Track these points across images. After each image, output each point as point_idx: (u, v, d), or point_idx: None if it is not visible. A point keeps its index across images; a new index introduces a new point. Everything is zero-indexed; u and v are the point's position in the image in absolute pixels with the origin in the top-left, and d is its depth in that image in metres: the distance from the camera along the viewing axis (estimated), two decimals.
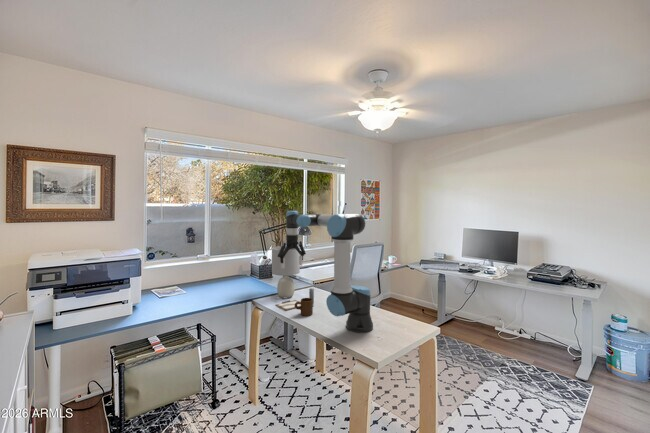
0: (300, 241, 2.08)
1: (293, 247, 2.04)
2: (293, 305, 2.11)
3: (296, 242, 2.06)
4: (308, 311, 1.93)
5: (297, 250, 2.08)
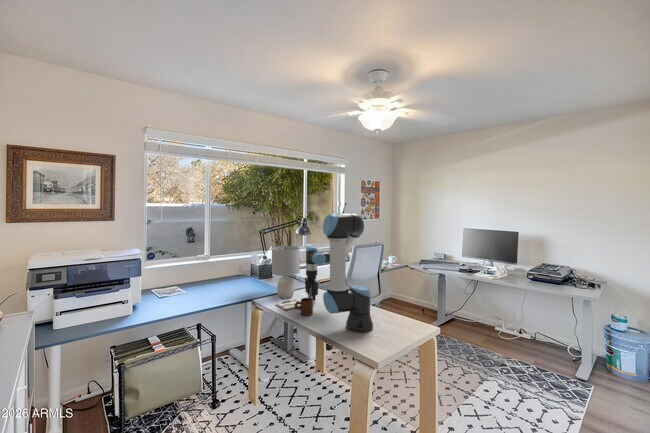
0: (315, 281, 2.05)
1: (310, 282, 2.09)
2: (293, 305, 2.11)
3: (313, 278, 2.07)
4: (308, 311, 1.93)
5: None
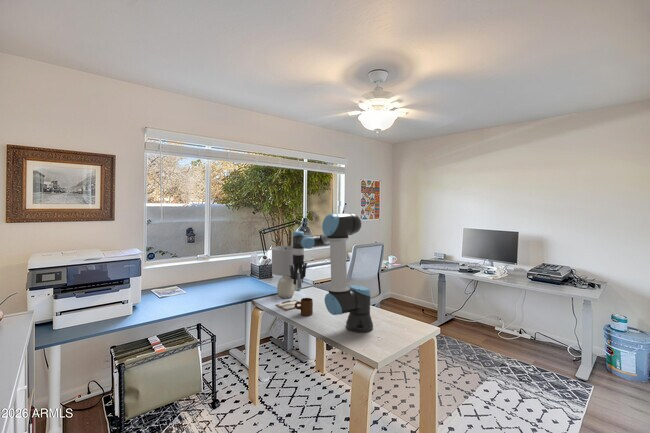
0: (306, 263, 2.14)
1: (299, 266, 2.11)
2: (293, 305, 2.11)
3: (302, 261, 2.12)
4: (308, 311, 1.93)
5: (299, 271, 2.13)
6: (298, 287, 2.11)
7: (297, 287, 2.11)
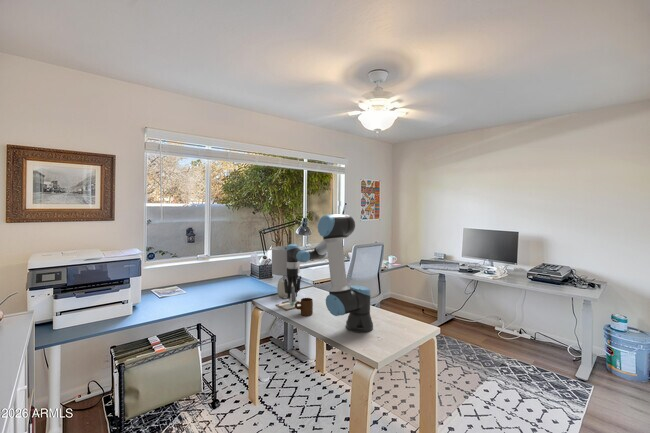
0: (300, 276, 2.11)
1: (293, 280, 2.08)
2: (293, 305, 2.11)
3: (297, 275, 2.10)
4: (308, 311, 1.93)
5: (294, 285, 2.10)
6: (292, 301, 2.08)
7: None
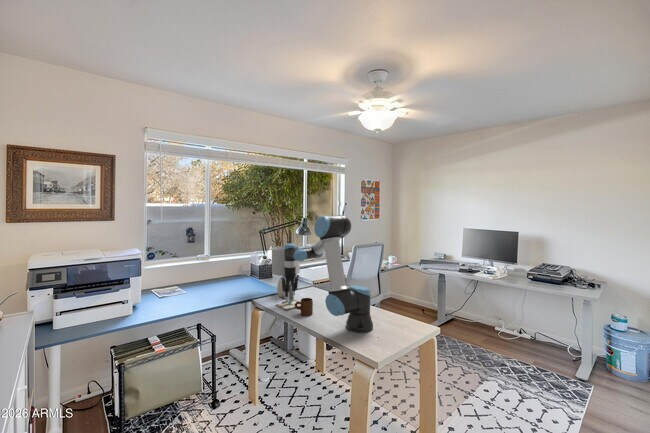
0: (298, 275, 2.15)
1: (291, 279, 2.12)
2: (293, 305, 2.11)
3: (294, 273, 2.13)
4: (308, 311, 1.93)
5: (291, 283, 2.14)
6: (290, 299, 2.12)
7: (289, 299, 2.12)
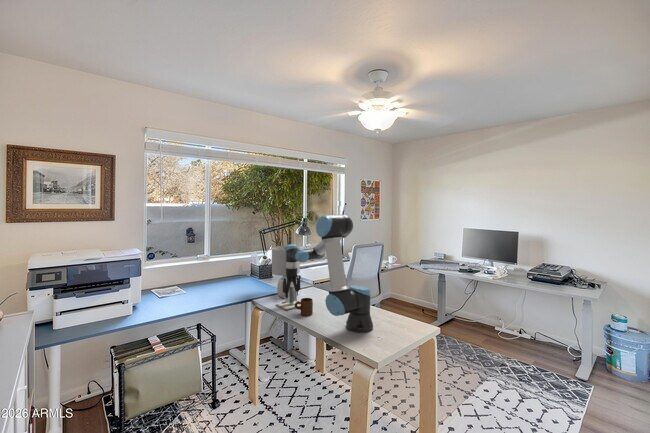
0: (299, 275, 2.13)
1: (293, 280, 2.10)
2: (293, 305, 2.11)
3: (296, 275, 2.12)
4: (308, 311, 1.93)
5: (294, 284, 2.12)
6: (292, 301, 2.10)
7: (291, 301, 2.10)
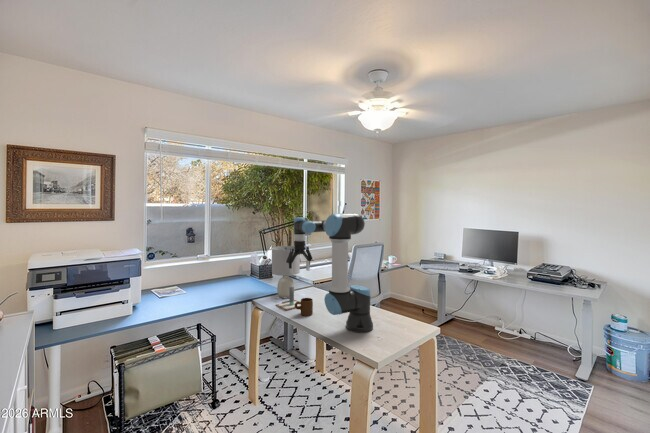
0: (307, 247, 2.13)
1: (301, 253, 2.10)
2: (293, 305, 2.11)
3: (303, 248, 2.11)
4: (308, 311, 1.93)
5: (304, 255, 2.13)
6: (292, 301, 2.10)
7: (291, 301, 2.10)
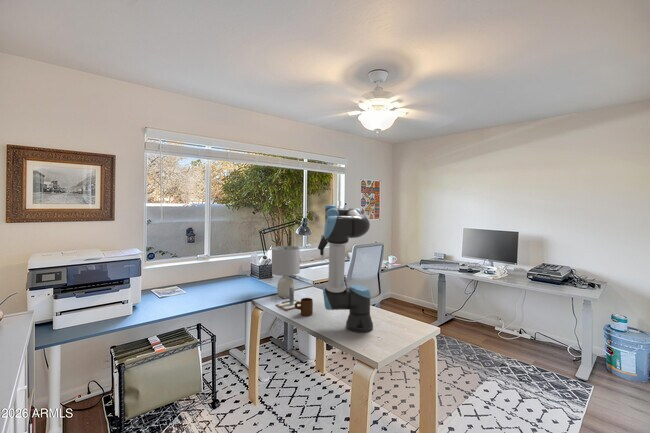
0: None
1: None
2: (293, 305, 2.11)
3: None
4: (308, 311, 1.93)
5: None
6: (291, 301, 2.10)
7: (290, 301, 2.10)
